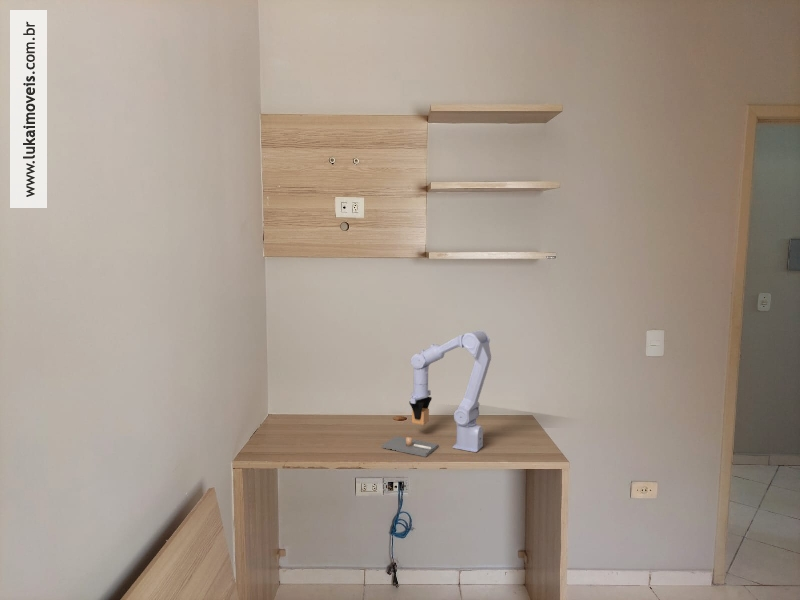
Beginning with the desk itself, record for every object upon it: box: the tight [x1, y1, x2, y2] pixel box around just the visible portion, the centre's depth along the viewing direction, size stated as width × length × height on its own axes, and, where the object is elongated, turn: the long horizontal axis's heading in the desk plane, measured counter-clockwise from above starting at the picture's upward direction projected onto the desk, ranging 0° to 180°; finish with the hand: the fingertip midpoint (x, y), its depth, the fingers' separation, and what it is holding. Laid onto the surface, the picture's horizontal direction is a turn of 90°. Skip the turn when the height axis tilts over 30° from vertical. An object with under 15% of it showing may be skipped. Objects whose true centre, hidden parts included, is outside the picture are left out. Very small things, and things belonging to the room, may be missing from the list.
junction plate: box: [381, 435, 439, 457], centre depth 192 cm, size 18×11×4 cm, turn 62°
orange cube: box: [411, 408, 430, 426], centre depth 204 cm, size 5×5×5 cm
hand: (420, 417), depth 204 cm, fingers closed on orange cube, 5 cm apart
